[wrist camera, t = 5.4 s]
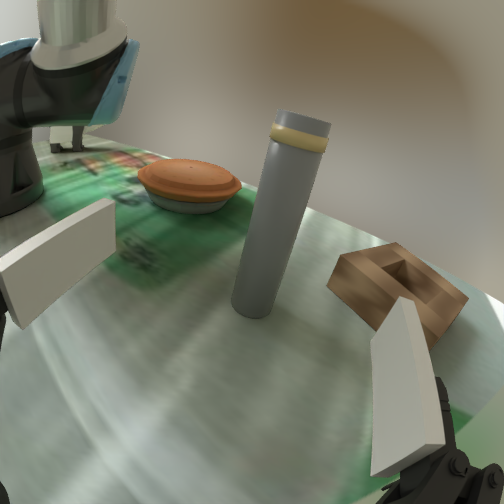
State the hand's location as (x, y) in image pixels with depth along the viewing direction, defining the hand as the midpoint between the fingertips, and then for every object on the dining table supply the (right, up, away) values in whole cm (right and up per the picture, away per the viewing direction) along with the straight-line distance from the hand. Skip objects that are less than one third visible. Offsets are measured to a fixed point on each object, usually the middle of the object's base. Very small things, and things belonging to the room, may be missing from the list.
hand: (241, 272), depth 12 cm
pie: (-9, +9, +30) cm, 33 cm away
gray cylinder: (0, -4, +13) cm, 14 cm away
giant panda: (-43, +25, +43) cm, 66 cm away
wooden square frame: (+17, -5, +17) cm, 25 cm away
